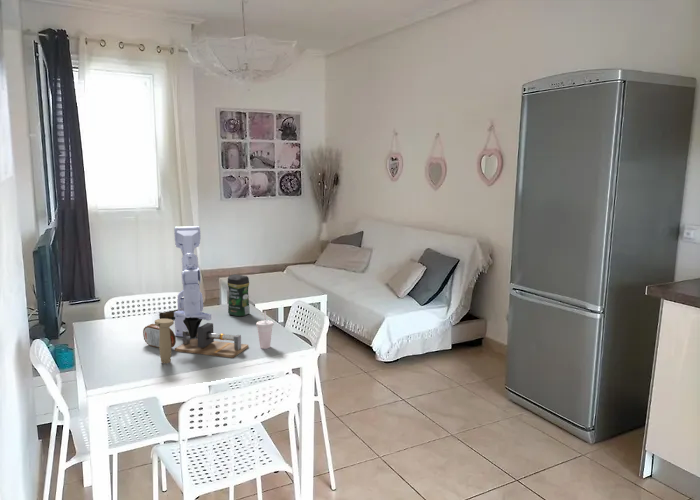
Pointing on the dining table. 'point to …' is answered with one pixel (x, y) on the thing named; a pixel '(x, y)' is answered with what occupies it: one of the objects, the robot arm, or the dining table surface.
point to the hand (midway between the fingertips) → (193, 337)
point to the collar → (204, 335)
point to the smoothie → (264, 332)
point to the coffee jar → (238, 295)
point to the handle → (164, 339)
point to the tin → (155, 336)
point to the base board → (212, 348)
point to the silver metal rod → (216, 336)
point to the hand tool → (167, 314)
